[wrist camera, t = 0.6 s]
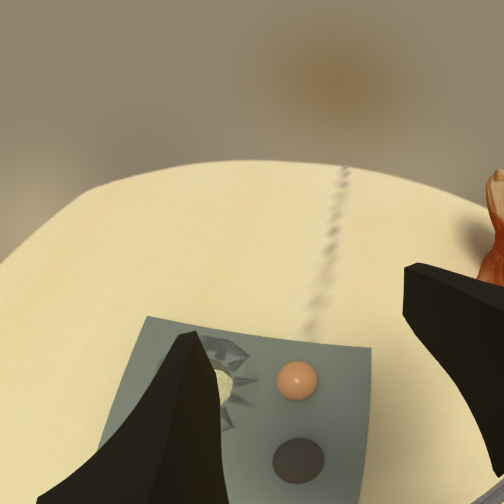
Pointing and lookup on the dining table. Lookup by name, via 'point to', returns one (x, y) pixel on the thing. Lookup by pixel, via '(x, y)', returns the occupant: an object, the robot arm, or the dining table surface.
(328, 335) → the dining table surface
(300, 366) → the terracotta ball
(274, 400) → the plate
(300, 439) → the black ball
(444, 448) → the dining table surface
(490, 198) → the ceramic vessel
